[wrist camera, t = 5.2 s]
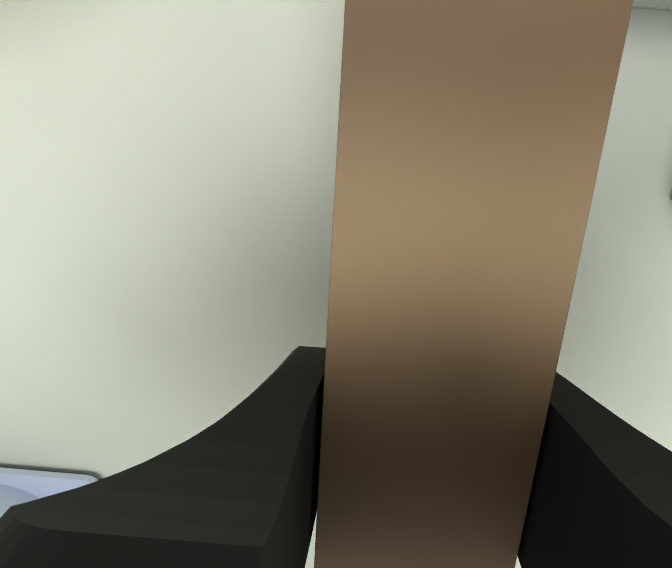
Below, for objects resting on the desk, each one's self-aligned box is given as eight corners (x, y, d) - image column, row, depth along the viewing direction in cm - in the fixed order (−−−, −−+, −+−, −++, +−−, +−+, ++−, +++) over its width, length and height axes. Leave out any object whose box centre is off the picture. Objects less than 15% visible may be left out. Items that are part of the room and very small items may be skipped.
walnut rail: (434, 589, 18) (462, 817, 13) (319, 580, 18) (301, 803, 13) (532, -60, 12) (660, -131, 7) (359, -70, 12) (353, -147, 7)
